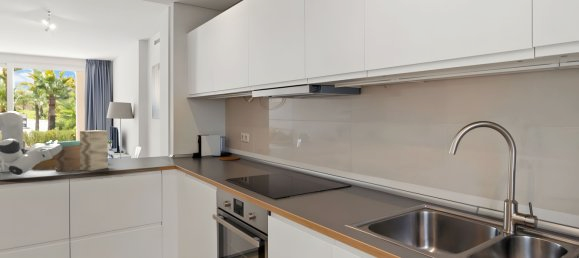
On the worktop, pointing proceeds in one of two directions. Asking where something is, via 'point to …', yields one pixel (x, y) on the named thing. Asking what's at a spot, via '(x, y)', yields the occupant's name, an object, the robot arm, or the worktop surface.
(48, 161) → the wooden planter box
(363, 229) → the worktop surface
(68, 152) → the low stand
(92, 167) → the tall stand
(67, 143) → the batten
